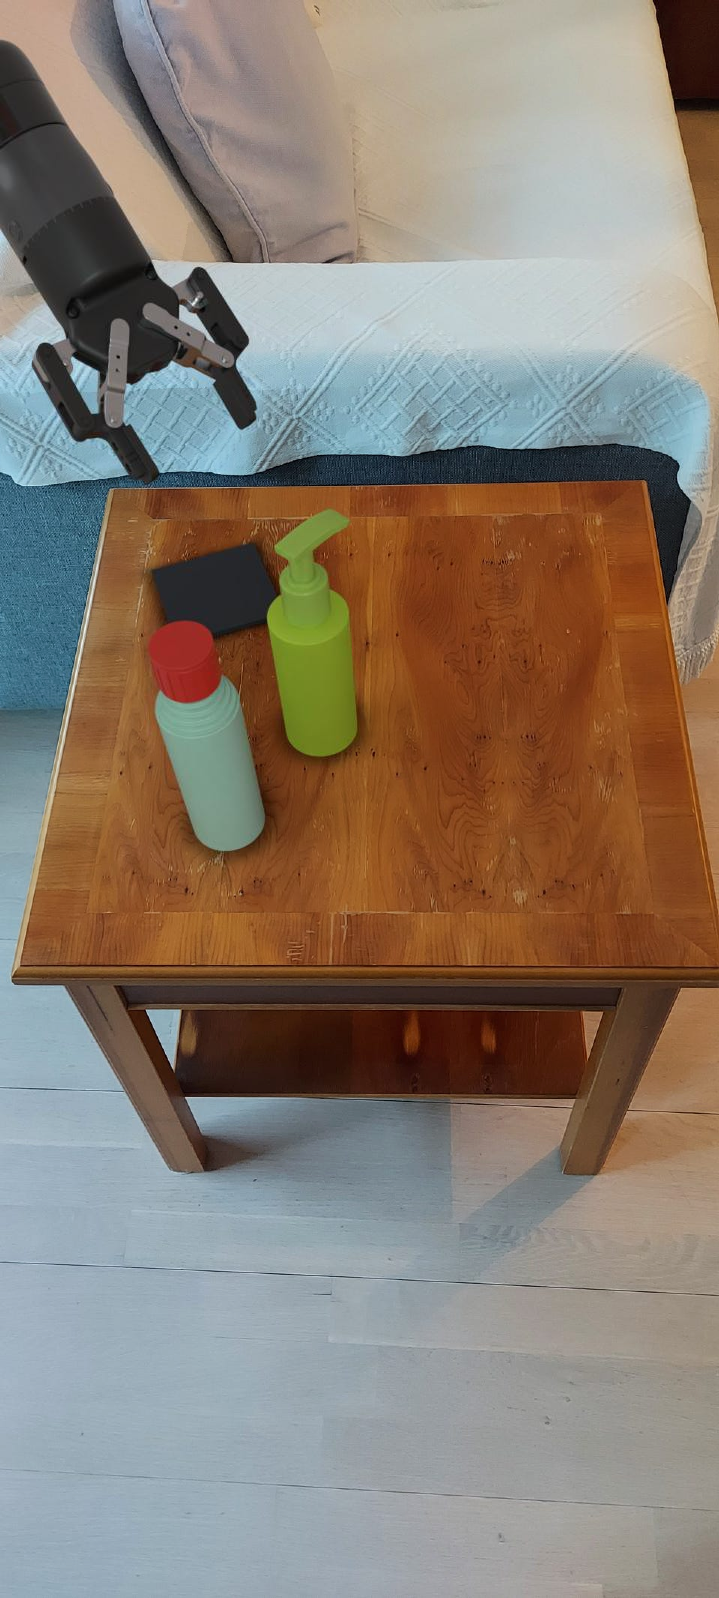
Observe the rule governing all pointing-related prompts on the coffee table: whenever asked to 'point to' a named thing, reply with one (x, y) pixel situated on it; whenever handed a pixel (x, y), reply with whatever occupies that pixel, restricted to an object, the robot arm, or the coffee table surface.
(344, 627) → the soap dispenser
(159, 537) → the coffee table surface
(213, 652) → the cap
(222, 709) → the bottle
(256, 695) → the coffee table surface
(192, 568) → the mat
